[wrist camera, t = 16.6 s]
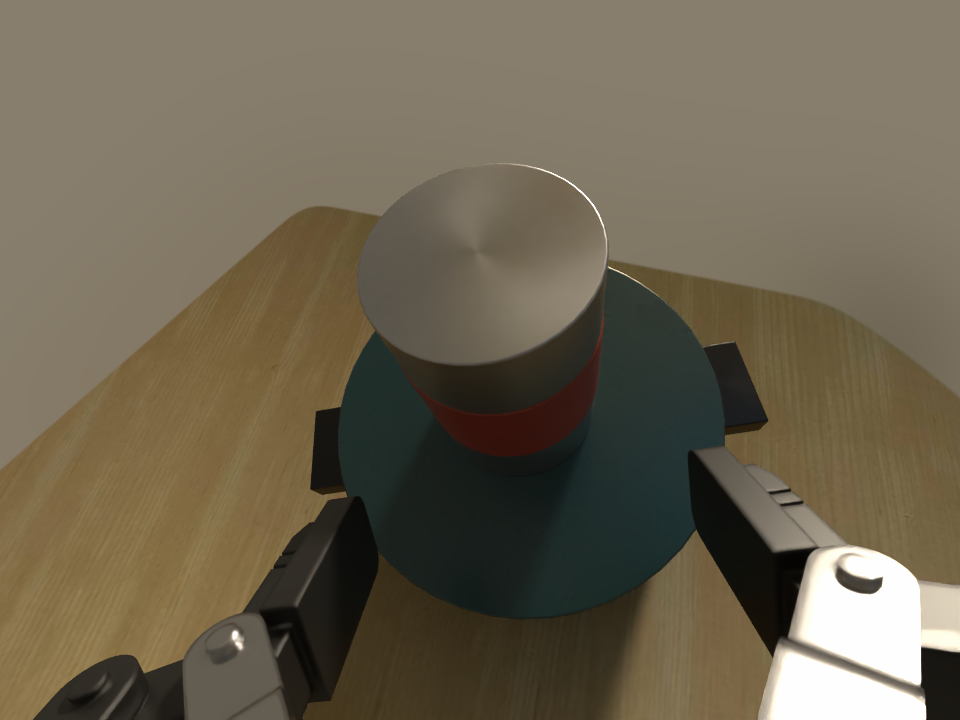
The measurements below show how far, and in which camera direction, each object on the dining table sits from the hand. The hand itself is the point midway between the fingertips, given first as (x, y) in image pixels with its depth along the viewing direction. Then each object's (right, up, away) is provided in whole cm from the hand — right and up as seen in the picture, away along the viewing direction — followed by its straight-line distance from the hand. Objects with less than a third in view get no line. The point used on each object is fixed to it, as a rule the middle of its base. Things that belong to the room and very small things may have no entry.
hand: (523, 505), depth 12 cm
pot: (+2, -3, +18) cm, 18 cm away
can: (+1, +2, +9) cm, 9 cm away
